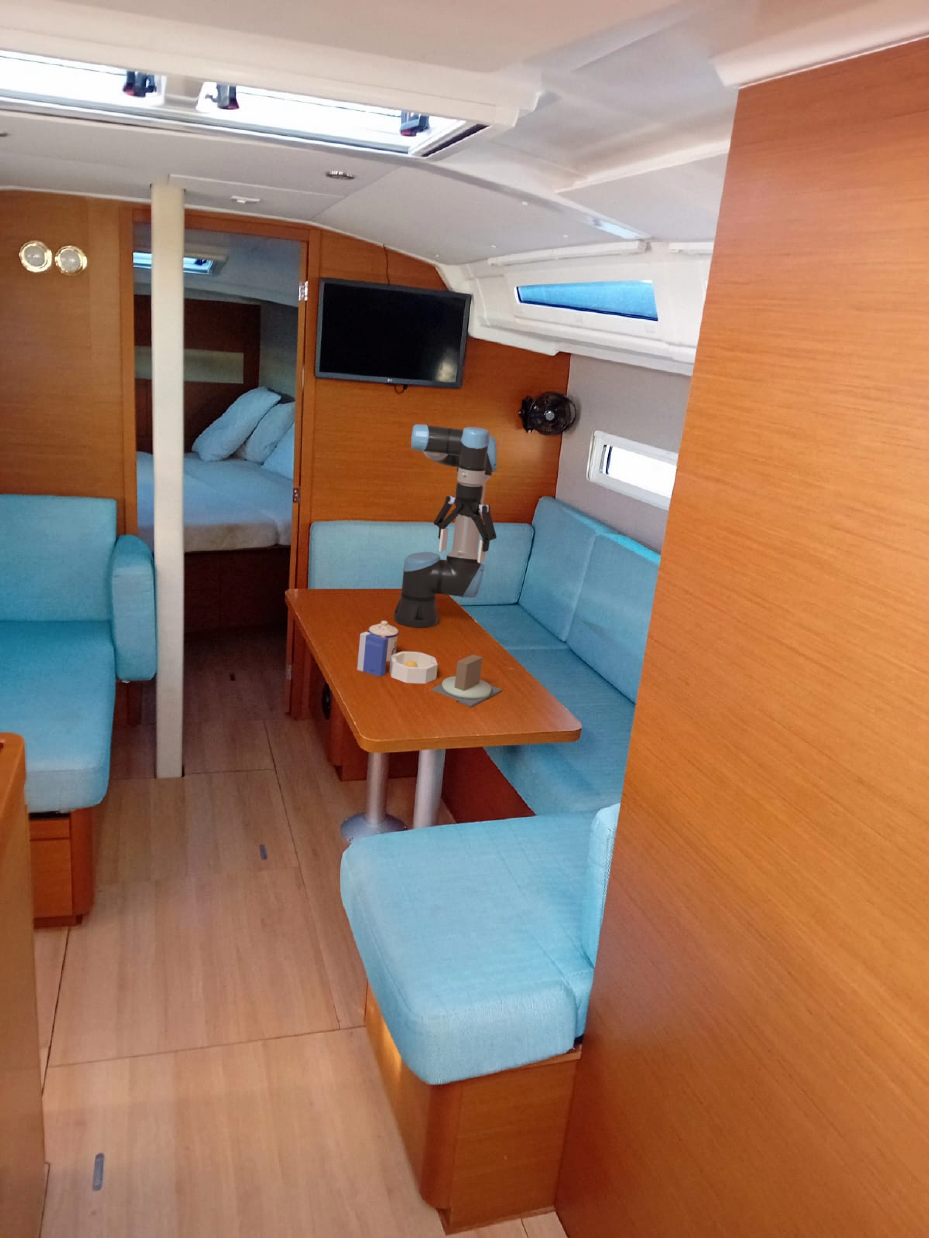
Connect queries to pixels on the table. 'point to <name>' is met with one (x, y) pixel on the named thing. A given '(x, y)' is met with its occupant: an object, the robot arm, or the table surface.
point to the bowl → (413, 674)
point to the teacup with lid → (389, 633)
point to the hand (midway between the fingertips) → (461, 556)
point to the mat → (466, 701)
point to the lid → (467, 680)
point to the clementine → (411, 664)
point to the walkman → (372, 653)
